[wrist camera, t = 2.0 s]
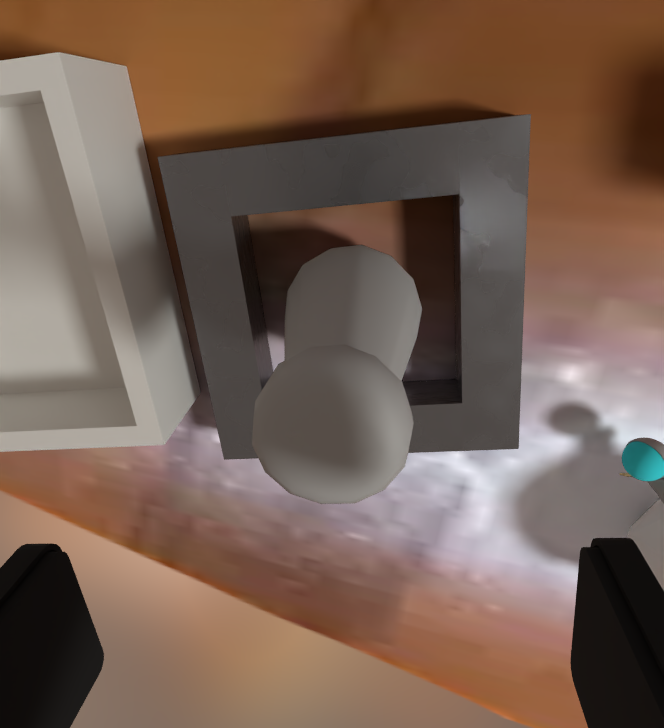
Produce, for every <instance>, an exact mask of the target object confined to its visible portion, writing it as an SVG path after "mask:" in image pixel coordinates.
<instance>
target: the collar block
mask: <svg viewBox="0 0 664 728" xmlns="http://www.w3.org/2000/svg"><path fill="white" fill-rule="evenodd" d="M530 117H531V114H528V115H512V116H503V117H495V118H486V119H477V120H468V121H460V122H451V123H442V124H433V125H425V126H416V127H407V128H398V129H390V130H381V131H372V132H363V133H355V134H346V135H337V136H328V137H320V138H311V139H302V140H293V141H285V142H276V143H267V144H258V145H250V146H241V147H232V148H224V149H215V150H206V151H197V152H189V153H180V154H173V155H167V156H161V157H158V161H159V166H160V171H161V175H162V180H163V184H164V189H165V193H166V198H167V202H168V207H169V211H170V216H171V220H172V225H173V230H174V234H175V239H176V243H177V248H178V252H179V257H180V261H181V266H182V270H183V275H184V279H185V284H186V289H187V293H188V298H189V302H190V307H191V311H192V316H193V320H194V325H195V329H196V334H197V339H198V343H199V348H200V352H201V357H202V361H203V366H204V370H205V375H206V379H207V384H208V388H209V393H210V398H211V402H212V407H213V411H214V416H215V420H216V425H217V429H218V434H219V438H220V443H221V448H222V452H223V457H224V459H250V458H258V456H257V454H256V452H255V450H254V448H253V446H252V433H253V419H254V409H255V400H256V399H257V397H258V396H259V394H260V392H261V391H262V389H263V388H264V386H265V385H266V383H267V381H268V380H269V378H270V377H271V375H272V373H273V368H272V362H271V356H270V350H269V344H268V338H267V332H266V326H265V320H264V313H263V307H262V301H261V295H260V289H259V283H258V277H257V271H256V265H255V259H254V253H253V247H252V241H251V235H250V229H249V222H248V216H247V215H251V214H261V213H271V212H282V211H292V210H302V209H312V208H323V207H333V206H343V205H354V204H364V203H374V202H385V201H395V200H405V199H415V198H426V197H436V196H446V195H453V234H454V294H455V353H456V379H447V380H428V381H409V382H402V383H403V386H404V389H405V392H406V396H407V399H408V402H409V405H410V408H411V411H412V417H413V423H414V424H413V429H412V435H411V440H410V446H409V451H408V453H415V452H442V451H470V450H497V449H518V448H519V420H520V392H521V365H522V337H523V310H524V282H525V254H526V227H527V199H528V172H529V144H530Z"/></svg>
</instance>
